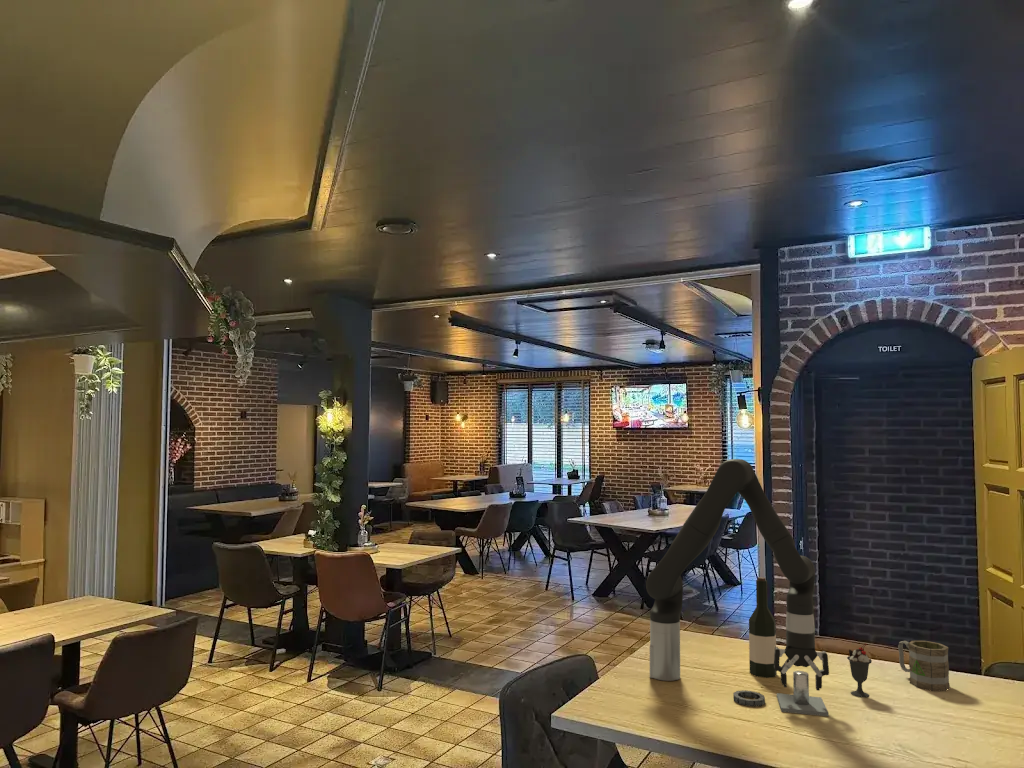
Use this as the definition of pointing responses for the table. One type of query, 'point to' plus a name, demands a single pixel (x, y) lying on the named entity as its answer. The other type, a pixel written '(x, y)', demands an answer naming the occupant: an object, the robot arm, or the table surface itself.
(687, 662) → the table surface
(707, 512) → the robot arm
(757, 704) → the metal eye
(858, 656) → the sundae
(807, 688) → the cylinder
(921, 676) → the mug
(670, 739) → the table surface
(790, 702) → the slate mat
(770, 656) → the wine bottle
